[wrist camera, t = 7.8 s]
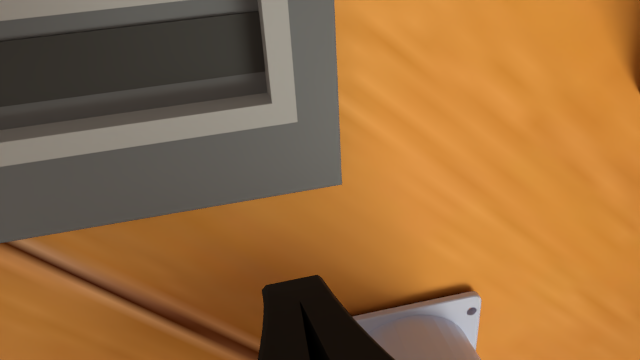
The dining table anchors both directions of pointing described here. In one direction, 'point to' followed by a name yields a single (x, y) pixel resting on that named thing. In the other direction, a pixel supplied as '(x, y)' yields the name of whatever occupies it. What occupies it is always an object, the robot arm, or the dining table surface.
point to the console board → (161, 108)
